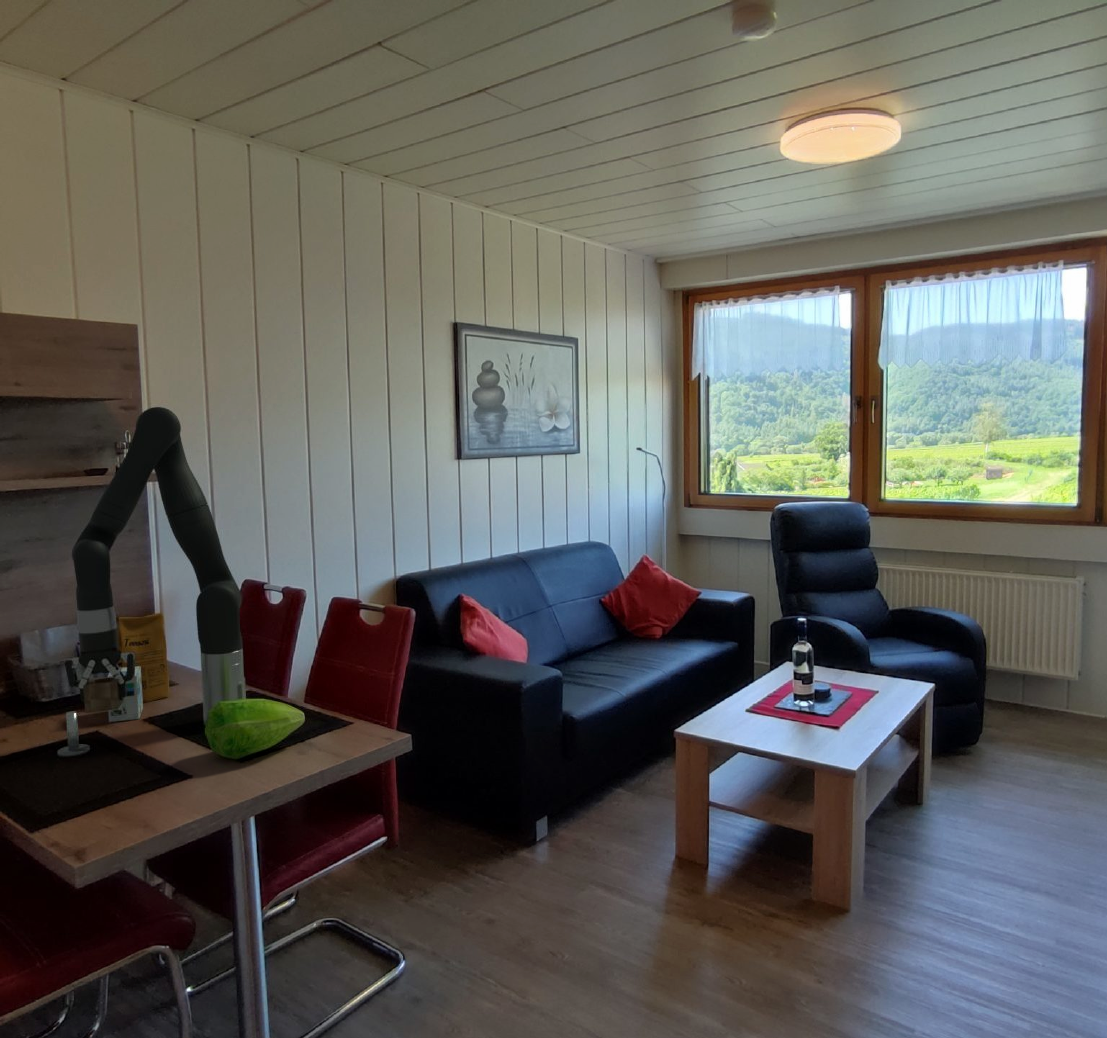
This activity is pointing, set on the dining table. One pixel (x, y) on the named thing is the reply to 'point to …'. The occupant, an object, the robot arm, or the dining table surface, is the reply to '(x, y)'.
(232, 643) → the robot arm
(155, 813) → the dining table surface
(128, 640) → the coffee package
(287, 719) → the lettuce
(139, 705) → the light bulb box
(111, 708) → the collar
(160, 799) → the dining table surface
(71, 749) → the post
